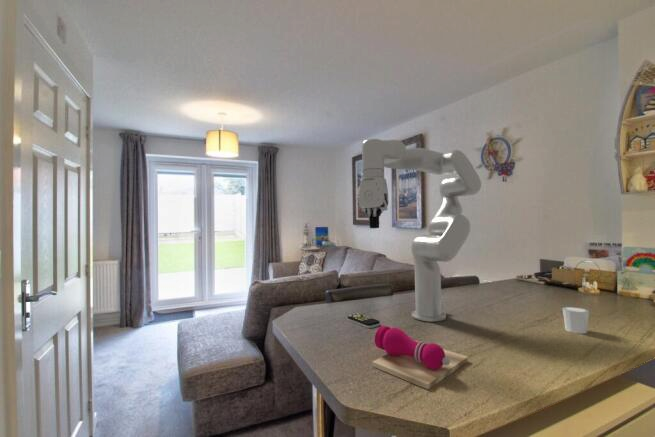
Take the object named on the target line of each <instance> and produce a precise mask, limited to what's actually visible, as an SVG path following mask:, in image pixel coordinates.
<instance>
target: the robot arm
mask: <svg viewBox="0 0 655 437" xmlns="http://www.w3.org/2000/svg"><path fill="white" fill-rule="evenodd" d="M361 160H362V161H361V162H362V163H361V164H362V167H361V169H362V170H361V171H362V174H360V177H361V178H362V179H361V180H360V183H359V192H358V206H359V208H361V212H363V213H366V214H367V217H369V228H370V229H379V228H380V217H381V216H382V213H383V212H386V211H388V210H389V208H388V206H389V190H388V183H387V179H386V178H385V169H386V168H387V169H394V170H406V171H407V170H408V171H419V172H425V173H429V174H433V175H439V176H441V175H449V174H454V173H455V174H456V175H453V176H452V175H451V176H447V177H445V178H443V179H442V180H441V181H440V184H439V193H440V197H441V204H440V206H439V208H438V210H437V211H436V213H435V214H434V216H433V217H432V219H431V220H430V222H429V224H428V226H427V232H428V234H420V235H418V236H416V237H414V238H413V240H412V241H411V246H410V248H411V253H412V254H411V255H412V258H413V265H414V297H415V299H414V300H415V310H413V311H412V312H411V317H412V318H413V319H415V320H418V321H422V322H432V323H433V322H434V323H435V322H442V321H445V320H446V319H447V315H446V314H445V313H444V312H443V311H442V309H445V307H446V304H445V303H444V302H442V281H441V280H442V279H441V275H442V274H441V268H440V266H439V262H442V263H449V262H451V261H452V260H453V259H455V258H456V256H457V255H458V254H459V251H460V250H461V249H462V248H463V245H464V244H465V242H466V240H467V239H468V237H469V235H470V232H471V231H470V230H471V223H470V221H469V218H468V217H467V216H466V215H463V214H462V213H463V208H462V204H461V202H460V200H459V197H463V196H464V197H466V196H473V195H476V194H477V193H478V194H479V191H480V190H481V188H482V182H481V181H482V180H481V178H480V175H479V174H478V172H477V171H476V169H475V168H474V166H473V164H472V162H471V161H470V160H469V158H468V156H467V155H466V154H465V153H464V152H463V151H462V150H459V149H453V150H449V151H445V152H438V151H434V150H430V149H429V148H425V147H414V148H409V149H408V148H407V146H406V144H405V143H403V142H402V141H401V140H398V139H388V140H387V139H386V140H385V139H384V140H382V139H379V138H370V139H369V138H368V139H366V140H364V141H363V142H362V144H361Z"/></svg>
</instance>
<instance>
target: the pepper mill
mask: <svg viewBox="0 0 655 437" xmlns="http://www.w3.org/2000/svg"><path fill="white" fill-rule="evenodd" d="M374 334H375V335H374V345H375V346H376V347H377V348H378V349H380V350H385V353H387V354H390V355H393V356H404V355H407V356H411V357H414V358H415V359H416V361H418V362H420V363H424V365H425V366H426V367H427V368H429V369H432V370H437V369H439V368H441V367H442V366H443V364H444V365H449V363H450V360H449V359H448V358H447V357H445V353H444V350H445V349H444V348H442V346H440V345H439V344H437V343H433V342H430V343H428V342H426V341H425V342H424V341H423V340H421V341H418V342H416V341H417V340H414V339H413V338H411V337H409V335H408V334H407V333H406V332H405V331H404V330H402V329H400V328H399V327H390V326H387V325H381V326H380V325H379V326H378V328H377V329H376V332H375V333H374ZM443 349H444V350H443Z"/></svg>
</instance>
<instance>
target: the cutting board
mask: <svg viewBox="0 0 655 437" xmlns="http://www.w3.org/2000/svg"><path fill="white" fill-rule="evenodd" d="M415 341H416V342H419V341H418V340H415ZM442 349H443V350H444V353H445V357H447V358H448V359H449V360H450V363H449V365H444V364H443V366H442V367H441V368H439V369H437V370H432V369H429V368H427V367H426V366H425V365H424V363H420V362H418V361H416V359H415V358H414V357H411V356H407V355H404V356H393V355H390V354H388V353H387V354H385V355H383V356H380V357H379V358H376V359H375V360H373V361H372V362H371V364H372V366H371V367H374V368H375V369H378V370H380V371H383V372H385V373H387V374H390V375H392V376H394V377H397V378H399V379H402V380H404V381H406V382H409V383H412V384H413V385H416V386H418V387H421V388H422V389H426V390H430V389H432V388H433V387H435V386H436V385H437V384H439V383H440V382H442V381H443V380H444V379H446V378H447V377H449V376H450V375H451V374H452V373H453V372H456V370H458V369H459V368H461V367H462V366H464V365H465V364H466V363H468V362H469V357H468V356H466V355H464V354H460V353H457V352H453V351H451V350H446V349H444V348H442Z"/></svg>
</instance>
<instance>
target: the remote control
mask: <svg viewBox="0 0 655 437" xmlns="http://www.w3.org/2000/svg"><path fill="white" fill-rule="evenodd" d="M348 320H349V322H350V321H351V323H354V324H356V325H358V326H361V327H364V328H365V329H372V328H375V327H376V328H377V327H380V325H381V324H380V323H381V322H380V321H379V320H378V319H375V318H372V317H369V316H366V315H363V314H361V313H359V312H358V313H354V314H351V315H350V314H349V315H348V316H347V321H348Z"/></svg>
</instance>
